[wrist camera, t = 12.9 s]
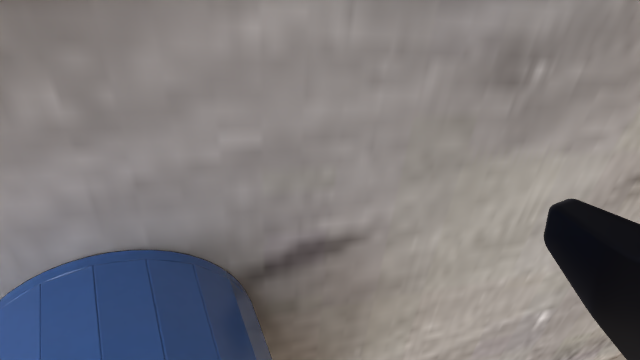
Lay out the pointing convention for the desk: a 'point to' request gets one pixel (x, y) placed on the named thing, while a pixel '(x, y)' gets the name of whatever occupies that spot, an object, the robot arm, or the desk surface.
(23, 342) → the blue round bin
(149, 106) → the desk surface
